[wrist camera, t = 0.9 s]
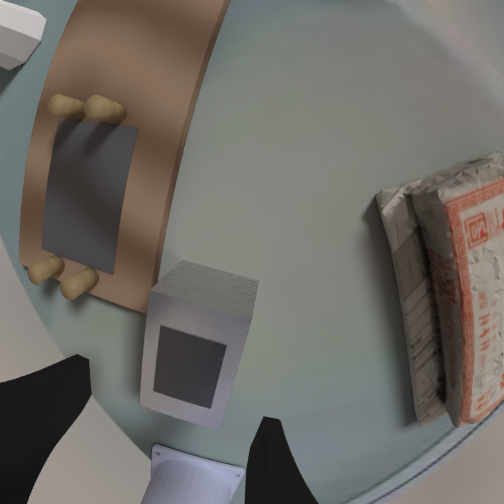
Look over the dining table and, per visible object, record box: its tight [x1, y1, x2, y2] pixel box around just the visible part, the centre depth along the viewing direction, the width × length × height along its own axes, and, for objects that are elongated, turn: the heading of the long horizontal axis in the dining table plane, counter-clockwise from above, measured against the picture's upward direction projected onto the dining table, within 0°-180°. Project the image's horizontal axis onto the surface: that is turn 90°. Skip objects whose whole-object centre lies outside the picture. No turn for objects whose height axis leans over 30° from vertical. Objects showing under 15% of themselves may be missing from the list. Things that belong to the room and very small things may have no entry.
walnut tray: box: [19, 0, 231, 314], centre depth 14 cm, size 20×11×4 cm, turn 166°
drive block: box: [140, 260, 259, 430], centre depth 15 cm, size 7×4×5 cm, turn 166°
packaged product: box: [376, 151, 504, 428], centre depth 14 cm, size 18×5×10 cm
